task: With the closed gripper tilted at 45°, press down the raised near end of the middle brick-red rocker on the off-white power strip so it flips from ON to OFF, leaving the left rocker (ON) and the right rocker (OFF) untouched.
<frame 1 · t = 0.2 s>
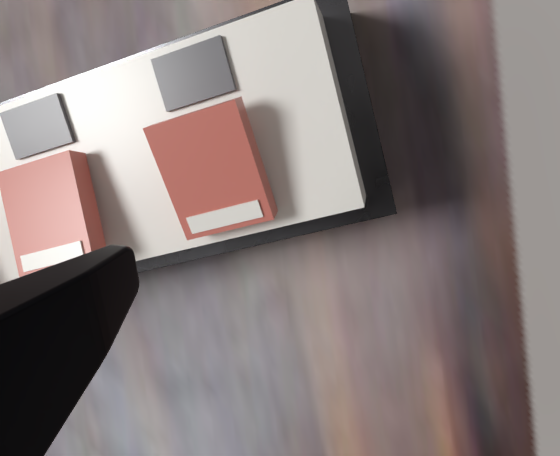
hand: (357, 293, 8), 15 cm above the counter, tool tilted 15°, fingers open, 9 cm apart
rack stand: (155, 169, 25), on the counter
rocker 1: (212, 171, 15), point 9 cm above the counter, hinge at -10.0°
rocker middle: (52, 215, 17), point 9 cm above the counter, hinge at 10.0°
power strip: (82, 182, 19), on the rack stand, point 7 cm above the counter
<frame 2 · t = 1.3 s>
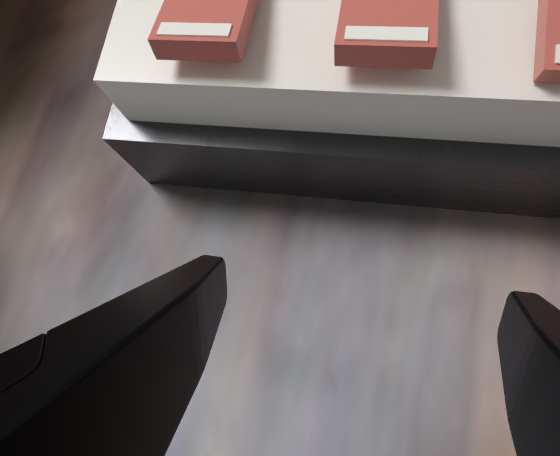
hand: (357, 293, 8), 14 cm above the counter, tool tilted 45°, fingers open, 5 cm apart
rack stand: (376, 122, 24), on the counter
rocker middle: (387, 14, 16), point 9 cm above the counter, hinge at 10.0°
power strip: (385, 37, 18), on the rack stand, point 7 cm above the counter
rocker 2: (207, 11, 17), point 9 cm above the counter, hinge at 10.0°
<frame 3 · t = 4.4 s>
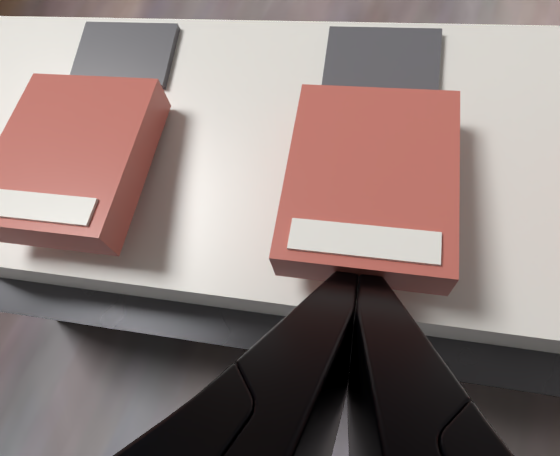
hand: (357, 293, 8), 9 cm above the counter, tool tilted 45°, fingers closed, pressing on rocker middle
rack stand: (363, 244, 18), on the counter
rocker middle: (369, 180, 9), point 9 cm above the counter, hinge at 9.2°, touching gripper
power strip: (369, 179, 11), on the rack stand, point 7 cm above the counter
rocker 2: (72, 157, 10), point 9 cm above the counter, hinge at 10.0°
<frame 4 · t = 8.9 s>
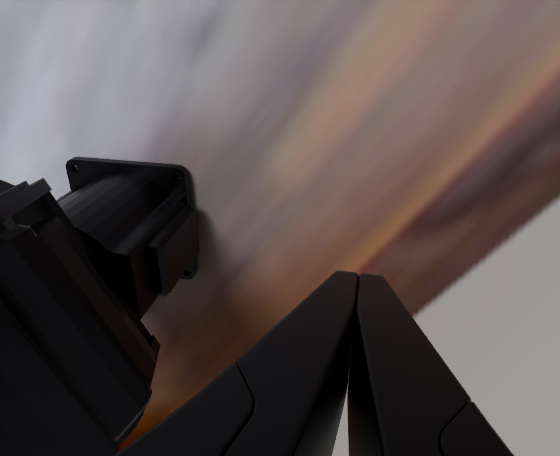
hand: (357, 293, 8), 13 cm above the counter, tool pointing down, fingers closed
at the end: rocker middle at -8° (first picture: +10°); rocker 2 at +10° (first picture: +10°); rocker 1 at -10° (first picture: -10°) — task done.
